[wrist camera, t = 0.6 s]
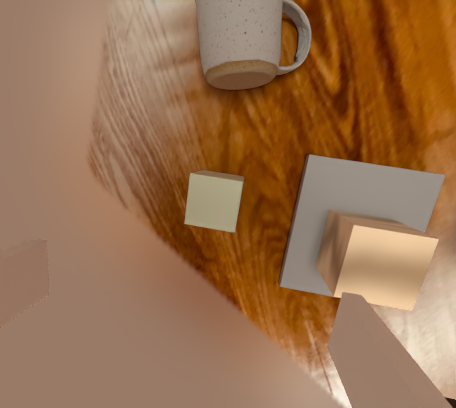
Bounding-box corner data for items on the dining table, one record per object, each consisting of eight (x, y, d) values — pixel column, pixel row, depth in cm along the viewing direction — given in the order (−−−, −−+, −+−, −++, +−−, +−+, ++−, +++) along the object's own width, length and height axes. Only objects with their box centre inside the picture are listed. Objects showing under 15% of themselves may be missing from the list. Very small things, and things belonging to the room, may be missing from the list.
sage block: (203, 169, 27) (190, 173, 21) (244, 176, 27) (242, 181, 21) (198, 209, 28) (184, 223, 22) (237, 216, 28) (234, 232, 22)
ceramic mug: (209, 96, 25) (194, 71, 18) (202, 12, 24) (182, -55, 16) (306, 87, 24) (334, 56, 17) (307, -1, 23) (337, -79, 15)
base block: (329, 209, 25) (353, 224, 19) (394, 219, 25) (438, 239, 19) (315, 265, 27) (333, 296, 21) (375, 276, 26) (412, 311, 20)
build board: (306, 154, 25) (309, 154, 24) (436, 174, 25) (445, 174, 23) (278, 281, 29) (279, 286, 28) (391, 302, 28) (397, 308, 27)
